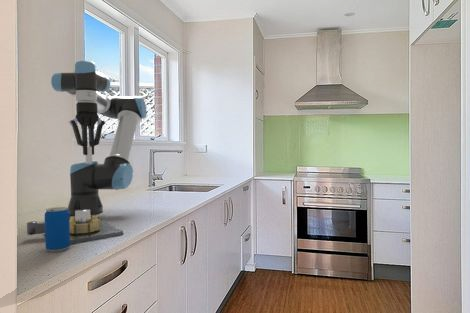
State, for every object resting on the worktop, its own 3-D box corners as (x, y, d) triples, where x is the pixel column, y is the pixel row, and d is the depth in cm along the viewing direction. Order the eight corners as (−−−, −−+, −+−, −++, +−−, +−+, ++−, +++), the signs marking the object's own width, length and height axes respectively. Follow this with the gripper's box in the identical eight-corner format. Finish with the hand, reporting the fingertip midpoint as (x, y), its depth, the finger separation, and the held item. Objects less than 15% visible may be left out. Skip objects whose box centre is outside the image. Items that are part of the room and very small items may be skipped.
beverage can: (46, 247, 105) (45, 208, 104) (70, 245, 107) (69, 206, 107) (44, 253, 99) (43, 211, 98) (69, 250, 101) (68, 209, 101)
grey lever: (100, 224, 127) (100, 213, 127) (99, 231, 117) (99, 219, 117) (31, 230, 120) (30, 218, 120) (23, 238, 110) (22, 225, 109)
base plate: (44, 233, 122) (43, 210, 121) (102, 224, 134) (102, 203, 134) (59, 246, 106) (58, 219, 106) (123, 234, 119) (122, 210, 119)
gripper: (71, 100, 128) (74, 164, 129) (107, 102, 136) (109, 162, 138) (65, 102, 133) (68, 164, 135) (100, 104, 142) (102, 162, 143)
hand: (89, 163), depth 136 cm, fingers closed
